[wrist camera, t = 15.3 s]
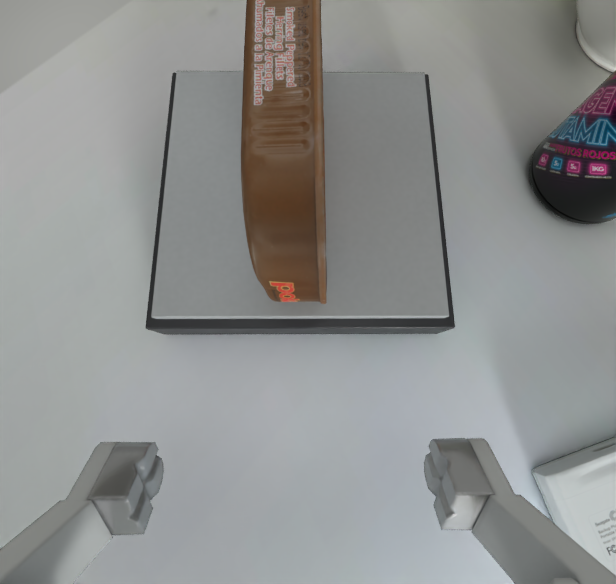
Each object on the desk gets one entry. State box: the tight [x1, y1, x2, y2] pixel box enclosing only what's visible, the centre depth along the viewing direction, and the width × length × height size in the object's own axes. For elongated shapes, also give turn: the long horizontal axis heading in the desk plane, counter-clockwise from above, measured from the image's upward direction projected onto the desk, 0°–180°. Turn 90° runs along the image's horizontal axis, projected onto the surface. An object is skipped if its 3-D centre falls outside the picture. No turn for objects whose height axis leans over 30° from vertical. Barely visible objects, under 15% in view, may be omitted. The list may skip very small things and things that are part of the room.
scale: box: [146, 71, 455, 334], centre depth 21 cm, size 16×16×3 cm
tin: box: [241, 0, 327, 304], centre depth 15 cm, size 15×3×8 cm, turn 0°
